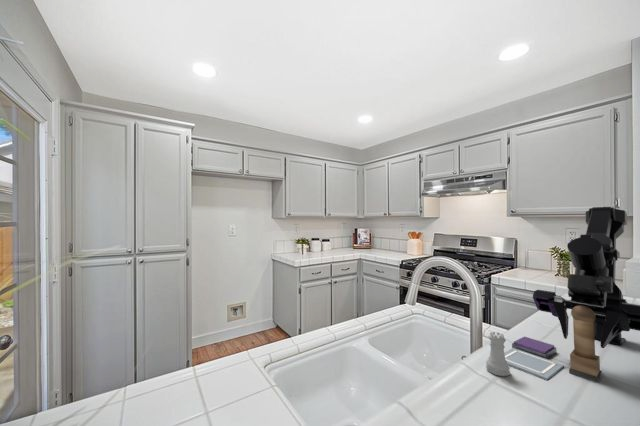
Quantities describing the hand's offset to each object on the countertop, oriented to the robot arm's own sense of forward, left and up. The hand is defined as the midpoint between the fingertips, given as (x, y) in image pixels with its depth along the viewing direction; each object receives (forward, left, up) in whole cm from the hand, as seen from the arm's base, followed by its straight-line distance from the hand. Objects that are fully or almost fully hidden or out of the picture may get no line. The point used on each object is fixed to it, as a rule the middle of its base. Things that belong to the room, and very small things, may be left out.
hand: (582, 342), depth 57 cm
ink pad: (-5, -11, -7) cm, 14 cm away
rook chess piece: (+14, -11, -7) cm, 19 cm away
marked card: (+4, -9, -7) cm, 12 cm away
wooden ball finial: (-1, 0, -7) cm, 7 cm away
